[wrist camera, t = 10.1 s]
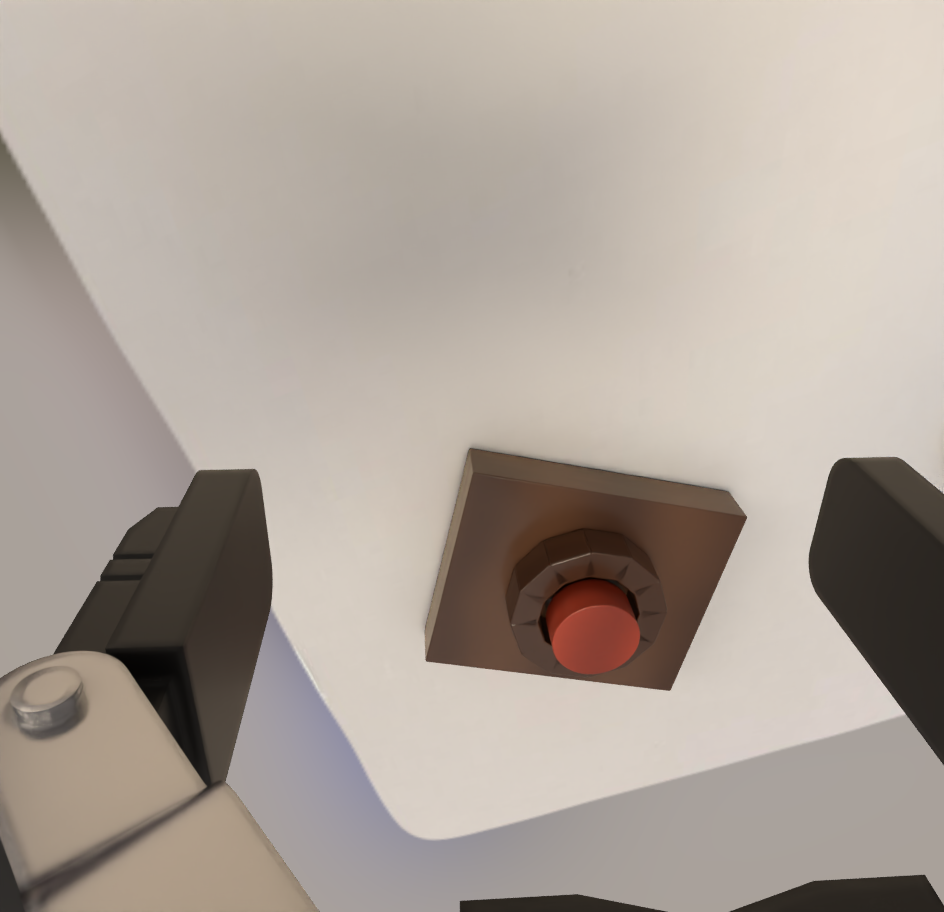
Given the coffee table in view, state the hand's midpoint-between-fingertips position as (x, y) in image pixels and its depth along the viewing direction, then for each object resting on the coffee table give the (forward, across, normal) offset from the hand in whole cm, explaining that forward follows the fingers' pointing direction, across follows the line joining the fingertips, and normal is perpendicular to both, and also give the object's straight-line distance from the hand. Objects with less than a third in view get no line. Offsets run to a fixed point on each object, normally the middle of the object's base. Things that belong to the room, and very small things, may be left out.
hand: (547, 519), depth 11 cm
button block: (+20, -5, +15) cm, 26 cm away
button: (+17, -5, +15) cm, 23 cm away
